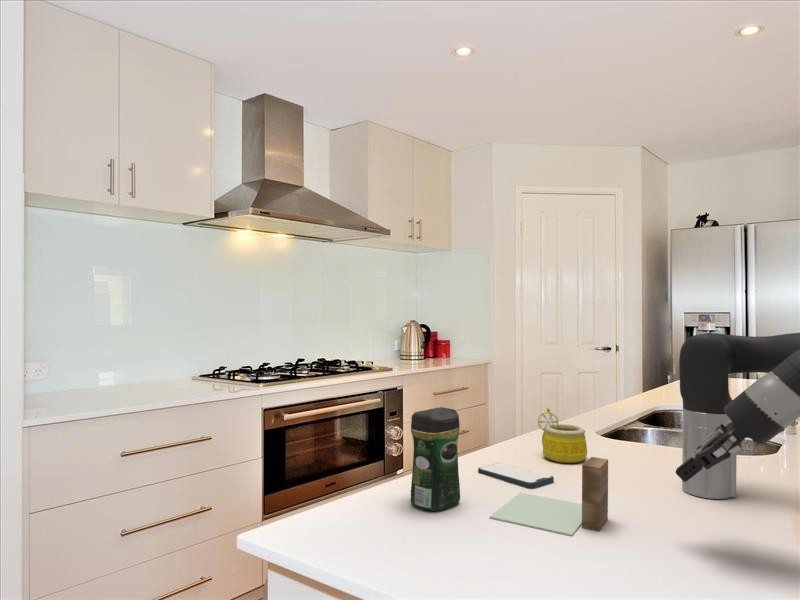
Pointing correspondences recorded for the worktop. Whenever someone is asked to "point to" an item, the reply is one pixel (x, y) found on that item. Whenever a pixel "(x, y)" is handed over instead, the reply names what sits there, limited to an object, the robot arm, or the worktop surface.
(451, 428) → the coffee jar
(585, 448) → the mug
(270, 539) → the worktop surface
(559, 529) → the mat
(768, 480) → the worktop surface
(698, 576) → the worktop surface
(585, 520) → the walnut block
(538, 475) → the smartphone
